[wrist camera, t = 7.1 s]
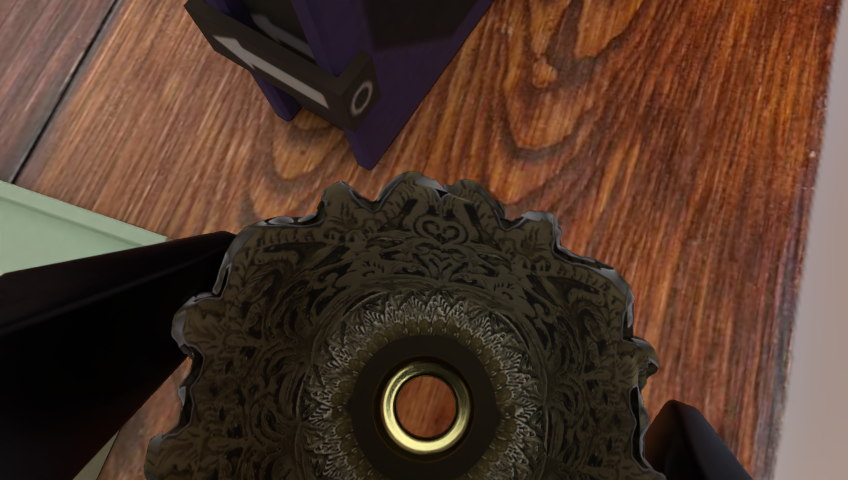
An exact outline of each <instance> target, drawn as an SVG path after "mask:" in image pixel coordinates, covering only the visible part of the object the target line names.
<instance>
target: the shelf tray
mask: <svg viewBox="0 0 848 480" xmlns="http://www.w3.org/2000/svg"><path fill="white" fill-rule="evenodd" d="M167 241H172V239H170V238H168V237H166V236H163V235H160V234H157V233H155V232H152V231H149V230H146V229H143V228H140V227H137V226H134V225H131V224H128V223H125V222H122V221H119V220H116V219H113V218H111V217H108V216H105V215H102V214H99V213H96V212H93V211H90V210H87V209H84V208H81V207H78V206H75V205H72V204H69V203H66V202H64V201H61V200H58V199H55V198H52V197H49V196H46V195H43V194H40V193H37V192H34V191H31V190H28V189H25V188H22V187H19V186H17V185H14V184H11V183H8V182H5V181H2V180H0V276H1V275H2V274H3V273H7V272H12V271H17V270H22V269H28V268H33V267H38V266H43V265H48V264H53V263H59V262H64V261H69V260H74V259H79V258H84V257H90V256H95V255H100V254H105V253H110V252H115V251H121V250H126V249H131V248H136V247H141V246H146V245H152V244H157V243H162V242H167ZM118 432H119V431H118ZM118 432H117V433H116V434H115V435H114V436H113V437H112V438H111V439H110V441H109V442H108V443H107V444H106V445H105V446H104V447H103V448H102V449H101V450H100V451H99V452H98V453H97V454H96V456H95V457H94V458H93V459H92V460H91V461H90V462H89V463H88V464H87V465H86V466H85V467H84V468H83V469H82V470H81V472H80V473H79V474H78V475H77V476H76V477H75V478H74V479H73V480H96V479H97V477H98V475H99V473H100V470H101V468H102V466H103V464H104V462H105V460H106V457H107V455H108V453H109V451H110V449H111V447H112V445H113V442H114V440H115V438H116V436H117V434H118Z"/></svg>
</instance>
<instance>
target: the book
mask: <svg viewBox="0 0 848 480" xmlns="http://www.w3.org/2000/svg"><path fill="white" fill-rule="evenodd" d="M493 1H494V0H188V1H187V2H186V3H185V4H184V7H185V9H186V10H187V12H188V13H189V14H190V16H191V17H192V19H193V20H194V22H195V23H196V25H197V26H198V27H199V29H200V30H201V32H202V33H203V35H204V36H205V37H206V39H207V40H208V42H209V43H210V45H211V46H212V48H213V49H214V50H215V51H216V52H218V53H220V54H221V55H223V56H225V57H226V58H228V59H230V60H232V61H233V62H235V63H237V64H238V65H240V66H242V67H244V68H245V69H247V70H249V71H250V73H251V74H252V76H253V77H254V79H255V80H256V82H257V84H258V85H259V87H260V88H261V90H262V92H263V93H264V95H265V96H266V98H267V100H268V101H269V103H270V104H271V106H272V107H273V109H274V111H275V112H276V114H277V115H278V116H279V117H281V118H283V119H284V120H286V121H289V120H290V119H292V118H293V116H294V115H295V114H296V113H297V111H298V110H299V109H300V107H301V106H303V107H304V108H306V109H308V110H310V111H311V112H313V113H315V114H316V115H318V116H320V117H321V118H323V119H325V120H327V121H328V122H330V123H332V124H333V125H335V126H337V127H338V128H340V129H342V130H343V131H345V134H346V136H347V139H348V141H349V144H350V146H351V148H352V151H353V153H354V156H355V158H356V161H357V163H358V164H359V165H361V166H363V167H364V168H366V169H368V170H370V169H371V168H373V167H374V166H375V165H376V163H377V162H378V161H379V159H380V158H381V156H382V155H383V154H384V152H385V151H386V149H387V148H388V147H389V145H390V144H391V143H392V141H393V140H394V138H395V137H396V136H397V134H398V133H399V131H400V130H401V129H402V127H403V126H404V124H405V123H406V122H407V120H408V119H409V118H410V116H411V115H412V113H413V112H414V111H415V109H416V108H417V106H418V105H419V104H420V102H421V101H422V99H423V98H424V97H425V95H426V94H427V93H428V91H429V90H430V88H431V87H432V86H433V84H434V83H435V81H436V80H437V79H438V77H439V76H440V75H441V73H442V72H443V70H444V69H445V68H446V66H447V65H448V63H449V62H450V61H451V59H452V58H453V56H454V55H455V54H456V52H457V51H458V50H459V48H460V47H461V45H462V44H463V43H464V41H465V40H466V38H467V37H468V36H469V34H470V33H471V31H472V30H473V29H474V27H475V26H476V25H477V23H478V22H479V20H480V19H481V18H482V16H483V15H484V13H485V12H486V11H487V9H488V8H489V6H490V5H491V4H492V2H493Z"/></svg>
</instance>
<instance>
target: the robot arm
mask: <svg viewBox="0 0 848 480" xmlns="http://www.w3.org/2000/svg"><path fill="white" fill-rule="evenodd" d="M236 236H237V235H235V234H232V233H230V232H227V231H219V232H214V233H208V234H203V235H198V236H193V237H188V238H183V239H177V240H172V241H167V242H162V243H157V244H152V245H146V246H141V247H136V248H131V249H126V250H121V251H115V252H110V253H105V254H100V255H95V256H90V257H84V258H79V259H74V260H69V261H64V262H59V263H53V264H48V265H43V266H38V267H33V268H28V269H22V270H17V271H12V272H7V273H3V274H2V275H1V276H0V480H73V479H74V478H75V477H76V476H77V475H78V474H79V473H80V472H81V470H82V469H83V468H84V467H85V466H86V465H87V464H88V463H89V462H90V461H91V460H92V459H93V458H94V457H95V456H96V454H97V453H98V452H99V451H100V450H101V449H102V448H103V447H104V446H105V445H106V444H107V443H108V442H109V441H110V439H111V438H112V437H113V436H114V435H115V434H116V433H117V432H118V431H119V430H120V429H121V428H122V427H123V426H124V424H125V423H126V422H127V421H128V420H129V419H130V418H131V417H132V416H133V415H134V414H135V413H136V412H137V411H138V410H139V408H140V407H141V406H142V405H143V404H144V403H145V402H146V401H147V400H148V399H149V398H150V397H151V396H152V395H153V393H154V392H155V391H156V390H157V389H158V388H159V387H160V386H161V385H162V384H163V383H164V382H165V381H166V380H167V378H168V377H169V376H170V375H171V374H172V373H173V372H174V371H175V370H176V369H177V368H178V367H179V366H180V365H181V363H182V362H183V361H184V360H185V359H186V358H187V357H188V354H184V353H183V351H182V349H181V347H180V348H179V345H178V343H177V341H175V340H174V339H173V337H172V335H171V330H172V321H173V318H174V315H175V313H176V312H177V311H178V310H179V309H180V308H181V307H182V306H183V305H184V304H185V303H186V302H187V301H188V300H189V299H190V298H192V297H193V296H194V295H195V296H194V297H195V298H197V296H198V294H200V293H204V292H212V291H213V287H214V285H215V283H216V281H217V277H218V273H219V269H220V267H221V265H222V262H223V259H224V256H225V254H226V252H227V250H228V248H229V247H230V245H231V243H232V241H233V240H234V239H235V237H236ZM197 300H198V299H195V300H194V301H192V302H197ZM183 345H185V346H186V347H187V348H188V346H187V345H186V344H184V343H183ZM188 349H189V348H188ZM189 350H190V349H189ZM190 352H191V350H190ZM644 443H645V453H644V455H645V459H646V461H647V462H648V463H649V464H650V465H651V466H652V468H653V469H654V470H655V471H656V472H659V473H662V474H664V476H665V477H666V480H753V479H752V478H751V477H750V475H749V474H748V473H747V472H746V470H745V469H744V468H743V466H742V465H741V464H740V463H739V461H738V460H737V459H736V458H735V456H734V455H733V454H732V452H731V451H730V450H729V449H728V447H727V446H726V445H725V443H724V442H723V441H722V440H721V438H720V437H719V436H718V434H717V433H716V432H715V431H714V429H713V428H712V427H711V425H710V424H709V423H708V422H707V420H706V419H705V418H704V416H703V415H702V414H701V413H700V411H699V410H698V409H696V408H695V407H692V406H690V405H687V404H684V403H682V402H679V401H676V400H669V401H667V402H666V403H665V404H664V406H663V407H662V409H661V410H660V412H659V413H658V415H657V416H656V418H655V419H654V421H653V422H652V424H651V425H650V427H649V428H648V430H647V431H646V434H645V438H644Z"/></svg>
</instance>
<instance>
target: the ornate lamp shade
mask: <svg viewBox="0 0 848 480" xmlns="http://www.w3.org/2000/svg"><path fill="white" fill-rule="evenodd" d="M317 209H318V210H317V212H316V213H315V214H308V215H306V216H304V217H289V216H281V217H280V216H279V217H274V218H270V219H266V220H263V221H259V222H256V223H254V224H251V225H249V226H247V227H244V228H243V229H242V230H241V231H240V232H239V234H238V235H237V236H236V237H235V239H234V240H233V241H232V243H231V245H230V247H229V248H228V250H227V252H226V254H225V256H224V259H223V262H222V265H221V267H220V269H219V273H218V277H217V281H216V283H215V285H214V287H213V291H212V292H204V293H200V294H198V296H197V298H195V297H194V296H195V295H194V296H193V297H192V298H190V299H189V300H188V301H187V302H186V303H185V304H184V305H183V306H182V307H181V308H180V309H179V310H178V311H177V312H176V313H175V315H174V318H173V321H172V330H171V335H172V337H173V339H174V340H175V341H177V343H178V345H179V348H180V347H181V349H182V351H183V353H184V354H188V356H189V358H190V359H192V364H191V368H190V372H189V374H188V376H187V377H186V378H185V380H184V381H183V382H182V383H181V385H180V386H179V390H178V394H179V397H180V399H181V402H182V407H181V411H180V418H179V422H178V424H177V425H176V426H175V427H174V428H173V429H171V430H170V431H169V432H168V433H166V434H164V435H162V432H161V433H159V434H158V435H157V436H154V437H153V438H151V439H150V442H149V445H148V450H147V454H146V459H145V463H144V474H145V478H146V480H666V477H665V476H664V474H662V473H659V472H656V471H655V470H654V469H653V468H652V466H651V465H650V464H649V463H648V462H647V461H646V459H645V455H644V453H645V443H644V438H645V434H646V431H647V429H648V427H649V425H650V420H649V416H648V413H647V410H646V408H645V406H644V404H643V398H642V395H641V392H642V389H643V388H644V386H645V385H646V384H647V382H646V379H647V378H648V377H649V376H651V375H653V374H655V373H656V372H657V369H658V367H659V364H658V358H657V354H656V352H655V350H654V348H653V347H652V346H651V345H650V344H649V342H647V341H646V340H644V339H641V338H639V337H637V336H634V335H633V321H634V311H633V310H634V301H635V300H634V296H633V292H632V290H631V287H630V285H629V284H628V283H627V281H626V280H625V279H624V278H623V277H622V276H621V275H620V273H618V272H617V271H616V270H615V269H614V268H613V267H611V266H609V265H607V264H605V263H603V262H600V261H598V260H596V259H593V258H589V257H585V256H584V257H583V256H579V255H577V254H574V253H572V252H571V251H569V250H567V249H566V248H564V247H563V246H562V245H561V240H560V237H561V234H562V231H561V229H560V227H559V224H558V223H559V222H558V218H557V217H556V216H555V215H554V214H553V213H550V212H544V211H528V212H527V213H525V214H523V215H524V216H523V215H521V216H522V217H520V218H516V219H514V220H512V221H510V220H508V219H507V215H506V212H505V209H504V207H503V205H502V203H501V202H499V201H496V200H494V199H493V198H492V197H491V196H490V195H489V194H488V192H487V191H486V190H485V189H484V188H483V187H482V186H481V185H479V184H478V183H477V182H475V181H473V180H468V179H463V180H458V181H456V182H455V183H454V184H453V185H451V186H450V185H447V184H445V185H444V189H443V188H442V186H441V185H440V184H439V183H438V181H436V180H434V179H431V178H429V177H427V176H425V175H423V174H421V173H420V172H415V171H408V172H404V173H402V174H399V175H397V176H396V177H394V178H393V179H392V180H391V181H390V182H389V183H388V184H387V185H386V186H385V187H384V188H383V189H382V191H381V192H380V194H379V195H378V198H377V199H376V200H375V201H372V202H371V201H369V200H368V199H366V198H364V197H362V196H361V195H359V194H358V193H357V192H356V191H355V190H354V189H353V188H352V187H351V186H350V185H348V184H347V183H345V182H343V181H339V182H336V183H334V184H332V185H330V186H329V187H327V188H326V189H325V190H324V191H323V194H322V197H321V201H320V203H319V205H318V207H317ZM195 299H198V300H197V302H192V301H194V300H195ZM183 343H184V344H186V345H187V346H188V348H189V349H190V350H191V352H192V353H193V355H192V353H191V352H190V350H189V349H188V348H187V347H186V346H185V345H183ZM425 376H428V377H434V378H437V379H439V380H441V381H442V382H444V383H445V384H446V385H447V386H448V387H449V389H450V390H451V392H452V394H453V397H454V400H455V414H454V417H453V420H452V422H451V424H450V425H449V426H448V428H447V429H446V430H445V431H443V432H442V433H440V434H438V435H436V436H433V437H419V436H416V435H414V434H412V433H410V432H409V431H408V430H407V429H406V428H405V427H404V426H403V424H402V423H401V421H400V419H399V416H398V412H397V402H398V397H399V395H400V392H401V391H402V389H403V388H404V387H405V385H406V384H407V383H409V382H410V381H412V380H413V379H416V378H419V377H425Z"/></svg>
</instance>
